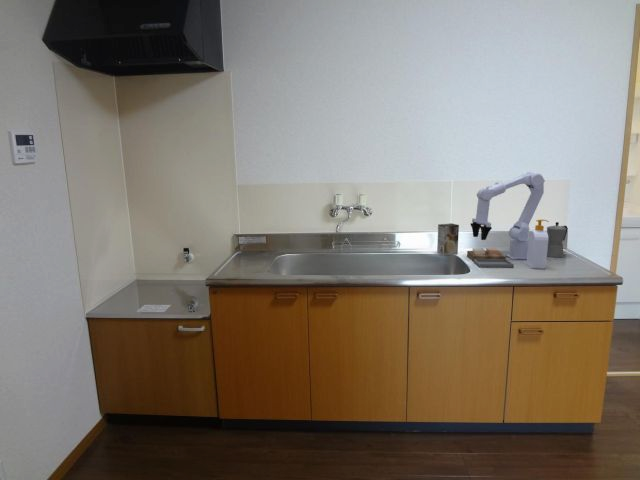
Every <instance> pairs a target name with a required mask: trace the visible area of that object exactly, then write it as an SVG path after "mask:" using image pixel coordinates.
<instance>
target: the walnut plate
mask: <svg viewBox="0 0 640 480" xmlns="http://www.w3.org/2000/svg"><path fill="white" fill-rule="evenodd" d="M472 251H473V250H467V251H466V257H467V258H468V259H469V260H470V261H472V262H473V263H474V259H507V256H506V255H504V254H503V253H502V252H500V251H499V254H488V253H487V252H486V250H485V254H474V253H473V252H472Z"/></svg>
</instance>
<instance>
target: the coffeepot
mask: <svg viewBox="0 0 640 480" xmlns="http://www.w3.org/2000/svg"><path fill="white" fill-rule="evenodd" d="M559 223H560V222H558V221H557V222H555V225H551V226H547V227H546V232H547V234H548V249H547V257H549V258H557V259H561V258H563V257H564V253H565V252H564V245H563V242H564V241H565V240H566V236H567V233H568V231H569V230H568V229H569V228H568V226H567V225H559Z"/></svg>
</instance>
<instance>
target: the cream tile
mask: <svg viewBox="0 0 640 480" xmlns="http://www.w3.org/2000/svg"><path fill="white" fill-rule="evenodd" d="M471 251H472V252H473V253H474V254H485V251H486V249H484V248H482V247H480V248H479V247H475V248H474V247H472V250H471Z"/></svg>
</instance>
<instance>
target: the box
mask: <svg viewBox="0 0 640 480" xmlns="http://www.w3.org/2000/svg"><path fill="white" fill-rule="evenodd" d="M473 264H475V265H476V266H477V267H478V268H480V269H482V268H484V269H485V268H490V269H494V268H495V269H499V268H500V269H513V268H514V263H513V262H511V261H510V260H508V259H507V258H506V259H474V262H473Z"/></svg>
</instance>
